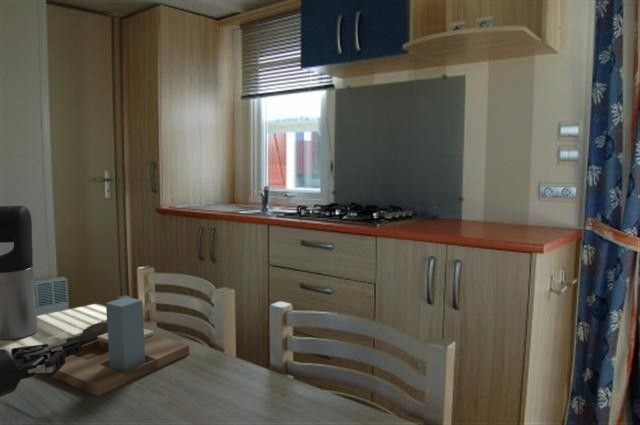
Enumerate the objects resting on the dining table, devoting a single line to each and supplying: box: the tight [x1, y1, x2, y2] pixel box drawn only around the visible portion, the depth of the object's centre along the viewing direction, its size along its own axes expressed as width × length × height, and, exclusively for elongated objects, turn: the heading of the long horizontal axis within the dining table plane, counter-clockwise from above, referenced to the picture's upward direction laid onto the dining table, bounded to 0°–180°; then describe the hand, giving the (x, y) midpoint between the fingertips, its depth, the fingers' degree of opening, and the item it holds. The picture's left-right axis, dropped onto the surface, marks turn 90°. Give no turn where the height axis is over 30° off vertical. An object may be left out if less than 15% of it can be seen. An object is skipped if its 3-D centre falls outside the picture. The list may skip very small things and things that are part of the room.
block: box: [105, 297, 145, 373], centre depth 102 cm, size 5×5×15 cm
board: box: [42, 334, 190, 397], centre depth 107 cm, size 21×23×2 cm
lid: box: [97, 294, 155, 343], centre depth 115 cm, size 9×9×10 cm
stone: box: [65, 322, 108, 346], centre depth 123 cm, size 18×11×3 cm, turn 138°
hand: (78, 345), depth 93 cm, fingers closed
